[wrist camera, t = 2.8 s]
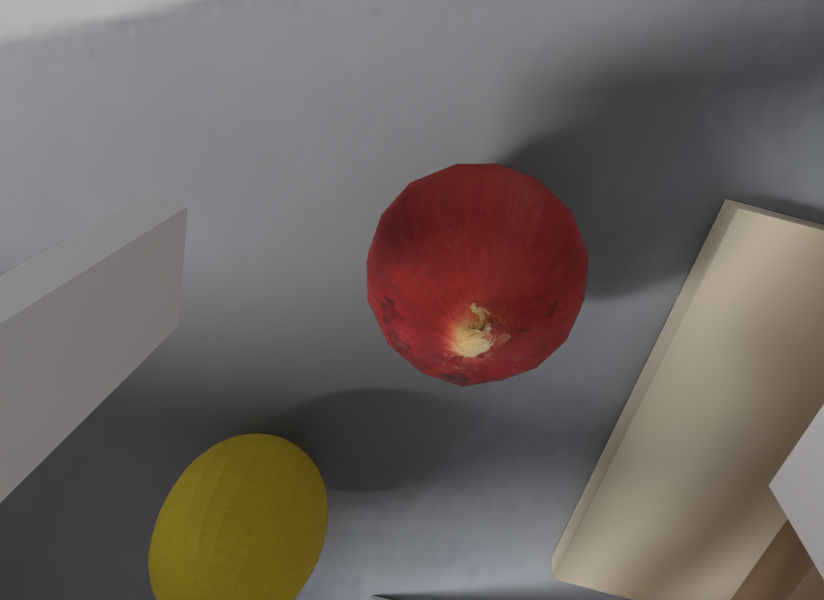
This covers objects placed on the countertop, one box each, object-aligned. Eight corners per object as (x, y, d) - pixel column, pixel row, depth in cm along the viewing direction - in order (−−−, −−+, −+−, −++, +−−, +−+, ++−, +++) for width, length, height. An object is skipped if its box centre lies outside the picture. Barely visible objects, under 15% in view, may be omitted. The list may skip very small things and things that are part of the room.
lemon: (355, 503, 25) (304, 699, 18) (229, 501, 26) (130, 689, 19) (337, 391, 23) (270, 563, 16) (199, 393, 23) (73, 558, 16)
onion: (522, 333, 21) (543, 499, 14) (365, 277, 21) (303, 417, 13) (598, 177, 18) (673, 279, 11) (421, 112, 18) (381, 173, 11)
